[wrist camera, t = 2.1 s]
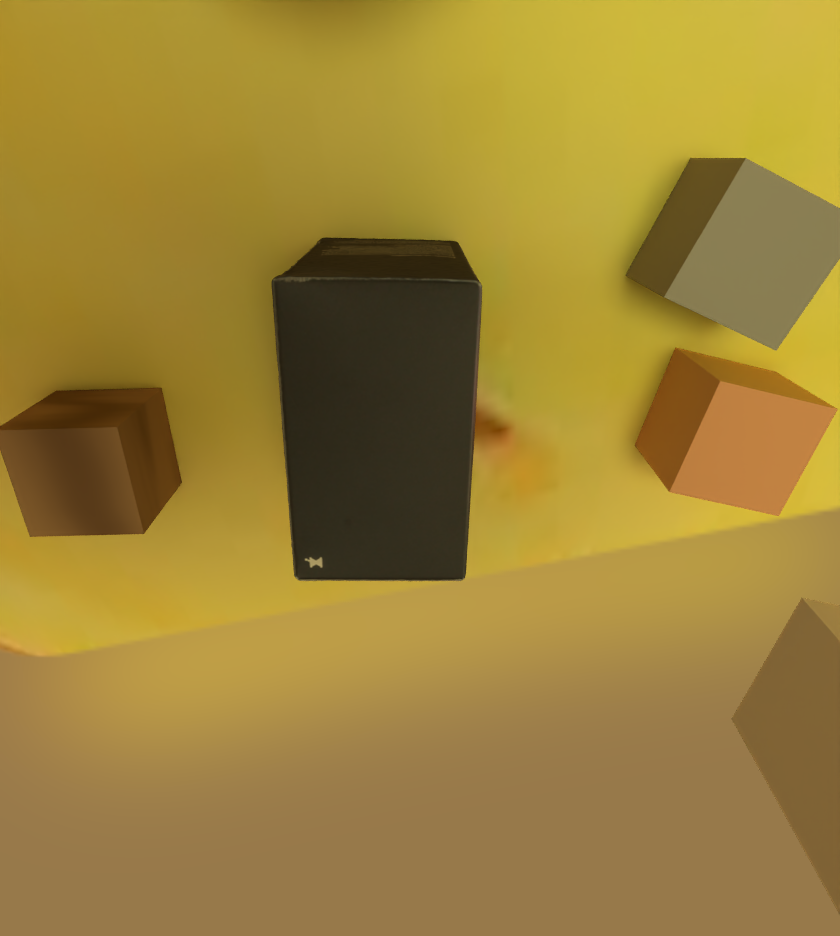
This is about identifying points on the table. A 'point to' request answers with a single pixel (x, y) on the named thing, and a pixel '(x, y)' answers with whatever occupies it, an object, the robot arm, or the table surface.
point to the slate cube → (740, 247)
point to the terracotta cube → (731, 432)
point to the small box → (378, 407)
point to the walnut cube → (91, 461)
